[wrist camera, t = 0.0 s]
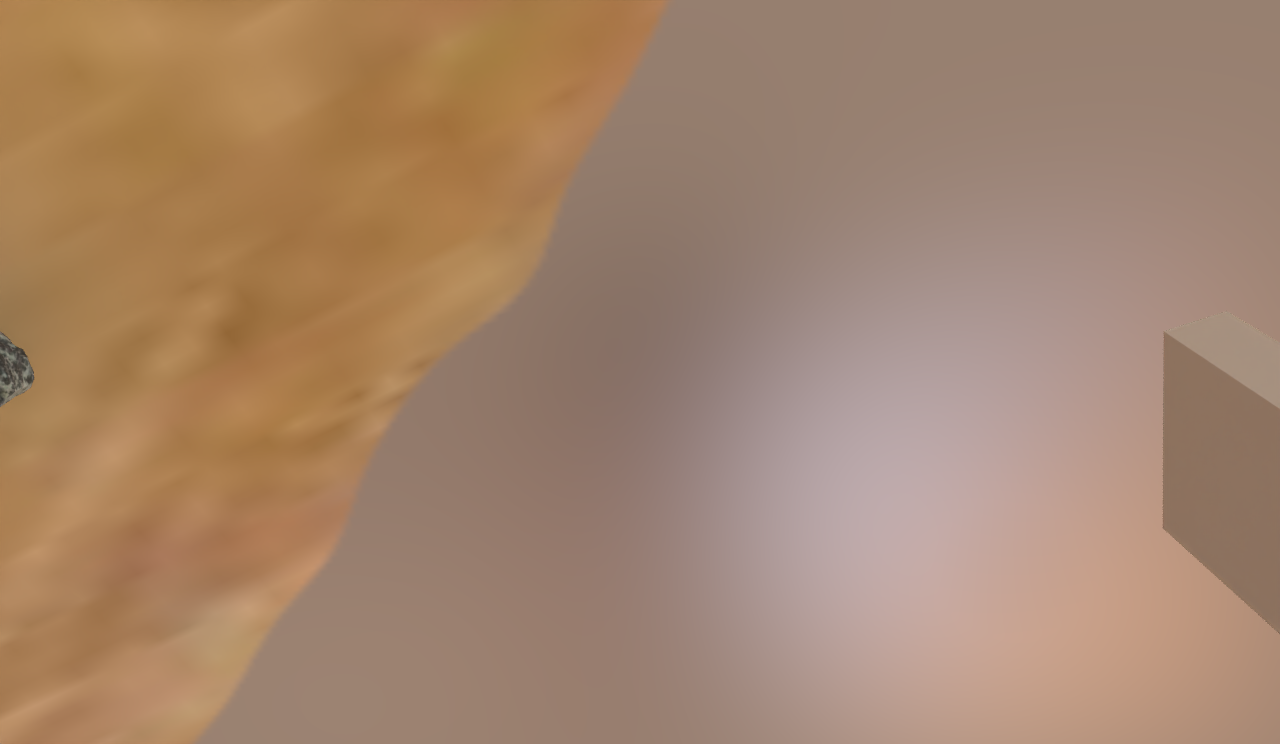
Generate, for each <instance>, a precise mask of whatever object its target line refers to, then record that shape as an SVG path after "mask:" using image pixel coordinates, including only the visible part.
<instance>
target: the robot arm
mask: <svg viewBox="0 0 1280 744" xmlns="http://www.w3.org/2000/svg"><path fill="white" fill-rule="evenodd" d="M1163 391H1164V393H1163V394H1164V395H1163V396H1164V397H1163V402H1164V403H1163V408H1164V409H1163V412H1164V413H1163V529H1164V530H1165V531H1167V532H1168V533H1169V534H1170V535H1171V536H1172V537H1173V538H1174V539H1175V540H1176V541H1178V542H1179V543H1180V544H1181V545H1182V546H1183V547H1184V548H1185V549H1186V550H1188V551H1189V552H1190V553H1191V554H1192V555H1193V556H1194V557H1195V558H1197V560H1199V561H1200V562H1201V563H1202V564H1203V565H1204V566H1205V567H1206V568H1207V569H1209V570H1210V571H1211V572H1212V573H1213V574H1214V575H1215V576H1216V577H1217V578H1218V579H1220V580H1221V581H1222V582H1223V583H1224V584H1225V585H1226V586H1227V587H1228V588H1229V589H1231V590H1232V591H1233V592H1234V593H1235V594H1236V595H1237V596H1238V597H1239V598H1241V599H1242V600H1243V601H1244V602H1245V603H1246V604H1247V605H1248V606H1249V607H1250V608H1252V609H1253V610H1254V611H1255V612H1256V613H1257V614H1258V615H1259V616H1260V617H1262V618H1263V619H1264V620H1265V621H1266V622H1267V623H1268V624H1269V625H1270V626H1271V627H1273V628H1274V629H1275V630H1276V631H1277V632H1278V633H1279V634H1280V343H1279V342H1277V341H1276V340H1274V339H1272V338H1271V337H1269V336H1267V335H1266V334H1264V333H1262V332H1261V331H1259V330H1257V329H1256V328H1254V327H1252V326H1251V325H1249V324H1247V323H1246V322H1244V321H1242V320H1241V319H1239V318H1237V317H1236V316H1234V315H1232V314H1231V313H1229V312H1227V311H1225V312H1222V313H1219V314H1216V315H1213V316H1210V317H1207V318H1204V319H1200V320H1197V321H1194V322H1191V323H1188V324H1185V325H1182V326H1179V327H1176V328H1173V329H1169V330H1166V331H1164V388H1163Z"/></svg>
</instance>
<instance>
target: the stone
mask: <svg viewBox="0 0 1280 744" xmlns="http://www.w3.org/2000/svg"><path fill="white" fill-rule="evenodd" d="M33 374H34V372H33V369H32V367H31V365H30V363H29V361H28V358H27V356H26V354H25V352H24V351H23V349H21V348H18V347H16V346H15V345H13V344H12V342H11V341H10V339H9V338H8V337H6V336H5V335H4V334H3V333H2V332H0V407H1V406H2V405H4V404H5V403H7V402H8V401H10V400H11V399H12V398H14V397H15V396H17V395H19V394H22V393H24V392H25V391H27V390H28V389H29V388H31V385H32V383H33V380H34V375H33Z"/></svg>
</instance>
